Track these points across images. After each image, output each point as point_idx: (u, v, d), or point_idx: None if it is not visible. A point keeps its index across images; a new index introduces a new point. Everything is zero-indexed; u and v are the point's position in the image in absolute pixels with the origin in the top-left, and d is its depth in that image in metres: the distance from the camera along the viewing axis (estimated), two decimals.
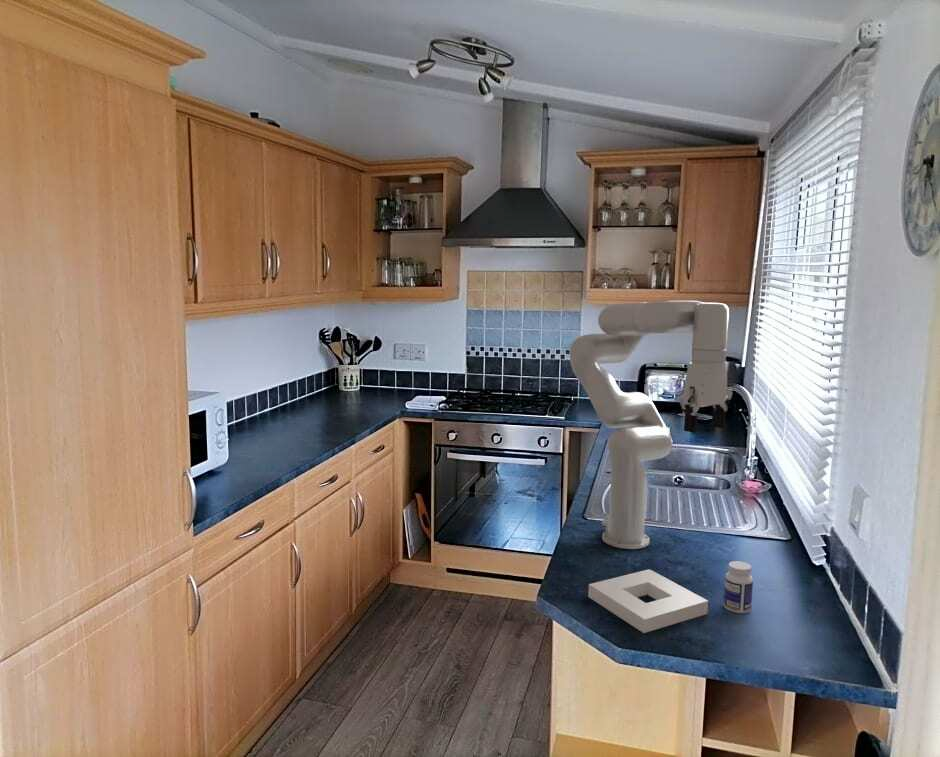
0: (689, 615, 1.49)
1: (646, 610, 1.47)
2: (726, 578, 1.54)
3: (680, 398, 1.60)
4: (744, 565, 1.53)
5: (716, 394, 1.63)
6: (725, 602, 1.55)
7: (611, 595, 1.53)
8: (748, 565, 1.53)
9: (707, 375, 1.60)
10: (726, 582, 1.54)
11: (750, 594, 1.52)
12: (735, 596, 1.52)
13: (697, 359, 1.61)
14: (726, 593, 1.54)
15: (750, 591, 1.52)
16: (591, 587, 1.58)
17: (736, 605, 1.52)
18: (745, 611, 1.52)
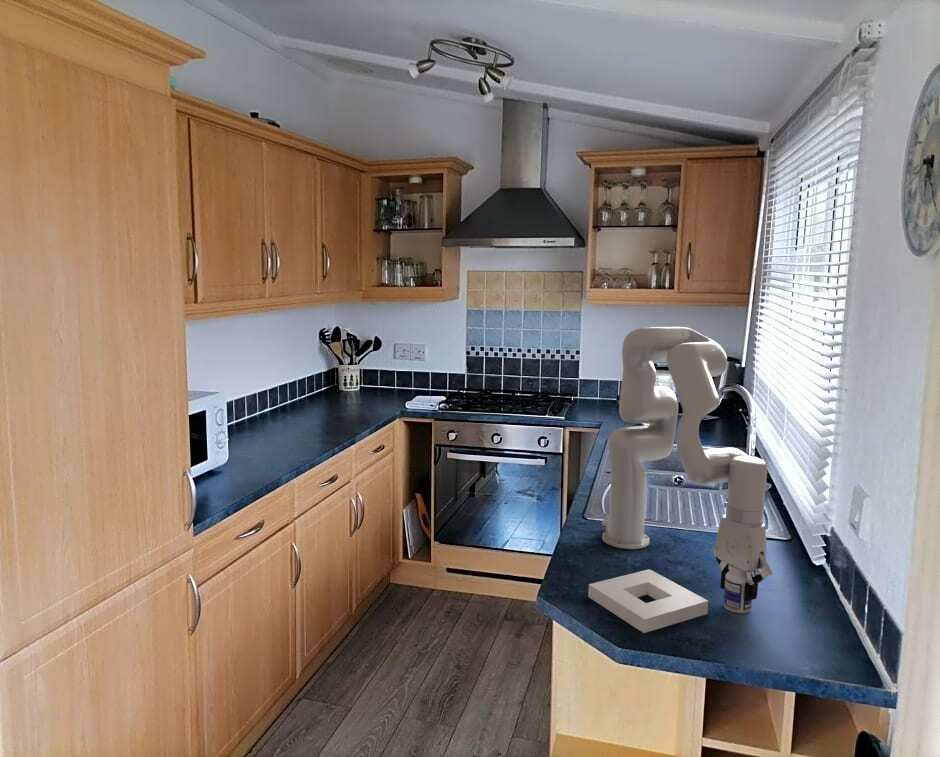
0: (689, 615, 1.49)
1: (646, 610, 1.47)
2: (726, 578, 1.54)
3: (769, 574, 1.47)
4: None
5: None
6: (725, 602, 1.54)
7: (611, 595, 1.53)
8: None
9: None
10: (726, 582, 1.54)
11: None
12: (735, 596, 1.52)
13: (758, 521, 1.49)
14: (726, 593, 1.54)
15: None
16: (591, 587, 1.58)
17: (736, 605, 1.52)
18: (745, 611, 1.52)
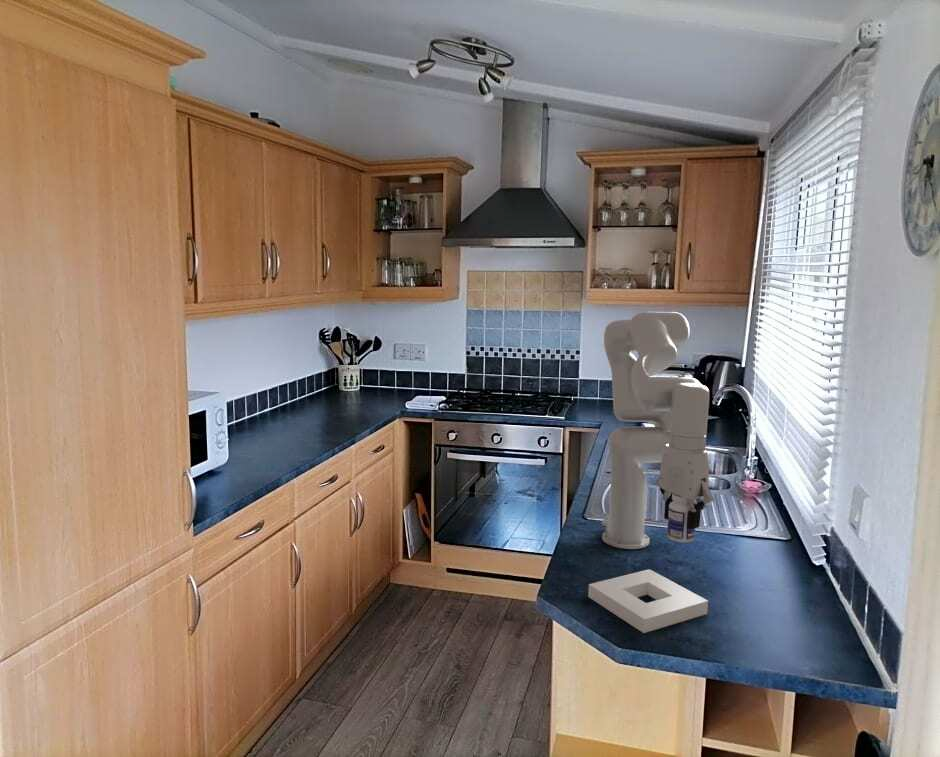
0: (689, 615, 1.49)
1: (646, 610, 1.47)
2: (669, 507, 1.52)
3: (711, 500, 1.45)
4: None
5: None
6: (668, 532, 1.53)
7: (611, 595, 1.53)
8: None
9: None
10: (669, 511, 1.52)
11: None
12: (678, 525, 1.50)
13: (700, 447, 1.47)
14: (669, 522, 1.52)
15: None
16: (591, 587, 1.58)
17: (679, 534, 1.50)
18: (688, 540, 1.51)
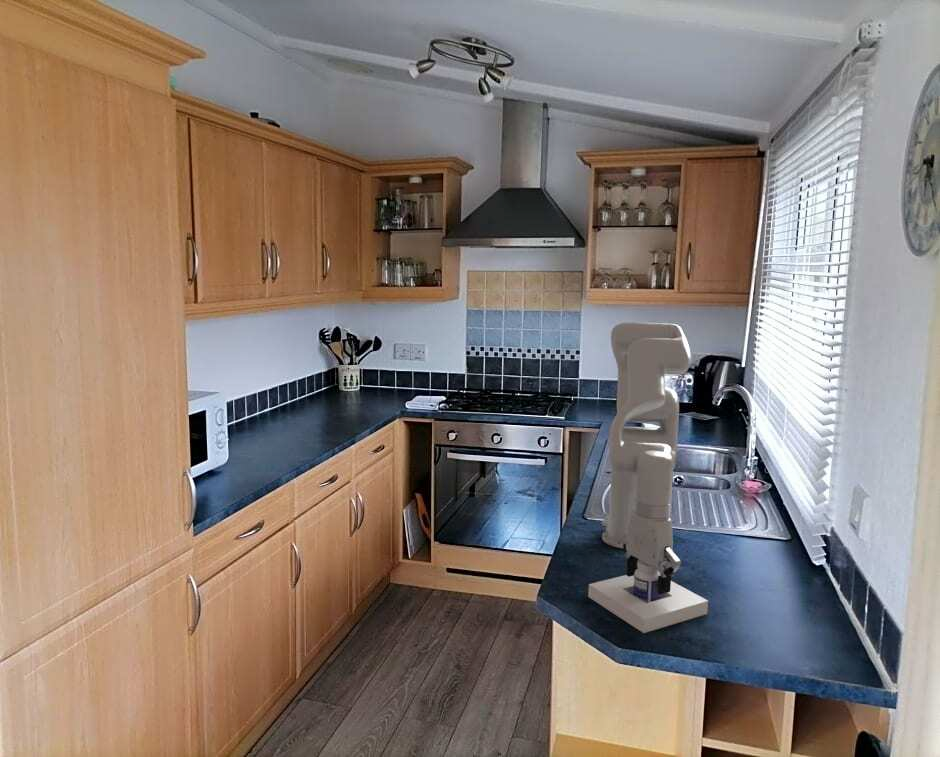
0: (689, 615, 1.49)
1: (646, 610, 1.47)
2: (634, 575, 1.55)
3: (678, 563, 1.46)
4: None
5: None
6: None
7: (611, 595, 1.53)
8: None
9: None
10: (634, 579, 1.55)
11: None
12: (643, 593, 1.53)
13: (664, 516, 1.49)
14: (634, 590, 1.55)
15: None
16: (591, 587, 1.58)
17: (644, 601, 1.53)
18: None
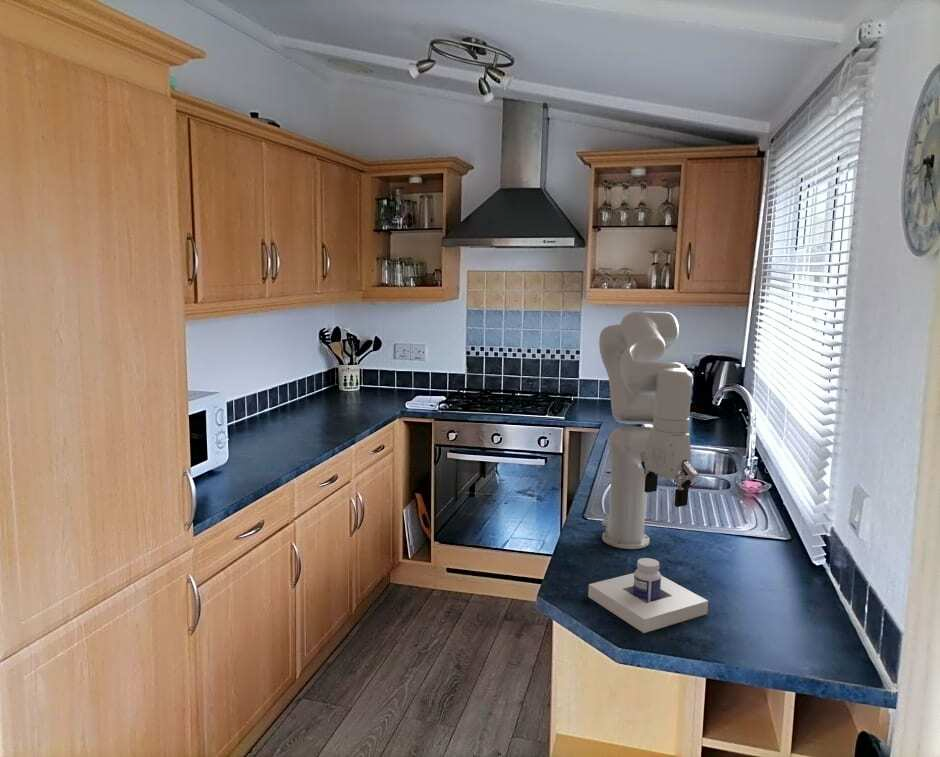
0: (689, 615, 1.49)
1: (646, 610, 1.47)
2: (634, 575, 1.55)
3: (695, 475, 1.50)
4: (652, 562, 1.54)
5: None
6: None
7: (611, 595, 1.53)
8: (656, 562, 1.54)
9: None
10: (634, 579, 1.55)
11: (657, 591, 1.53)
12: (643, 593, 1.53)
13: (682, 430, 1.52)
14: (634, 590, 1.55)
15: (657, 588, 1.53)
16: (591, 587, 1.58)
17: (644, 601, 1.53)
18: None
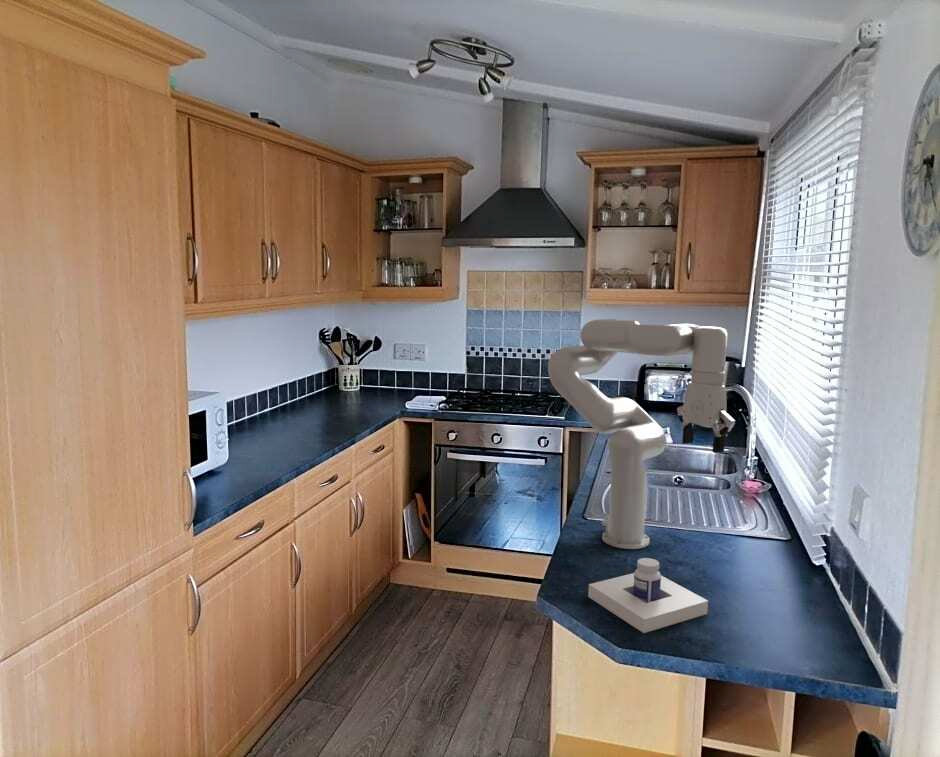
0: (689, 615, 1.49)
1: (646, 610, 1.47)
2: (634, 575, 1.55)
3: (732, 422, 1.64)
4: (652, 562, 1.54)
5: None
6: None
7: (611, 595, 1.53)
8: (656, 562, 1.54)
9: None
10: (634, 579, 1.55)
11: (657, 591, 1.53)
12: (643, 592, 1.53)
13: (719, 382, 1.67)
14: (634, 590, 1.55)
15: (657, 588, 1.53)
16: (591, 587, 1.58)
17: (643, 601, 1.53)
18: None
